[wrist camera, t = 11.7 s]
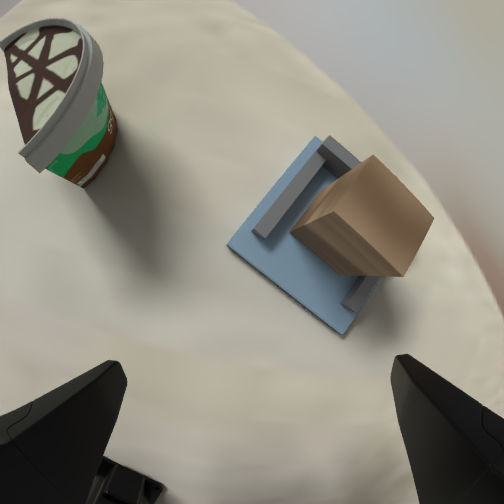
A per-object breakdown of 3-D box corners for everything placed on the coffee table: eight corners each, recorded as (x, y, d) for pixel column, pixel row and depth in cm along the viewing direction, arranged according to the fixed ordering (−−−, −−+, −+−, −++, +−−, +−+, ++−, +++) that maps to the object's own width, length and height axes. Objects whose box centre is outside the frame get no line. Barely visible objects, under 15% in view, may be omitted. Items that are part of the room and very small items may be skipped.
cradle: (338, 332, 22) (357, 341, 19) (226, 244, 21) (229, 240, 18) (406, 225, 24) (429, 220, 20) (312, 139, 23) (326, 122, 20)
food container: (157, 159, 21) (126, 85, 11) (90, 203, 20) (20, 161, 10) (102, 63, 21) (70, -10, 11) (47, 100, 20) (-3, 40, 10)
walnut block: (339, 275, 22) (403, 276, 14) (289, 232, 21) (333, 211, 13) (367, 233, 22) (434, 218, 14) (319, 191, 22) (373, 154, 14)
